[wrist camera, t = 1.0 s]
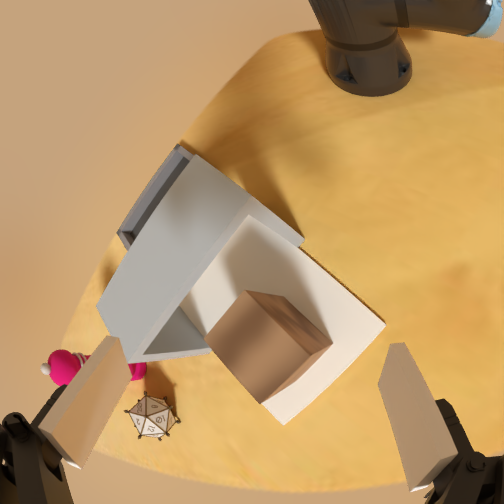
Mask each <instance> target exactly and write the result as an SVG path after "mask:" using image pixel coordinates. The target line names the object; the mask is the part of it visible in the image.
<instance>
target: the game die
mask: <svg viewBox="0 0 504 504" xmlns="http://www.w3.org/2000/svg"><path fill="white" fill-rule="evenodd" d="M144 395H145V396H144V397H143V398H142V399H141V400H138V403H137V404H136V405H135V406H134V407H133V408H132V409H131V410H129V411H128V410H124V412H125V413H129V415H130V417H131V419H132V421H133V422H134V424H135V426H134V427H136V428H137V430H138V432H139V434H140V435H139V436H138V439H140V438H141V436H149V437H158V439H159V440H160V441H161V440H162V439H161V438H160V437H162V436H163V435H165V434H166V435H167V436H169V437H170V434H169V433H167V432H168V431H169V430H170V429H171V428H172V426H173V425H174V424H175V423H181V422H180V421H178V420H177V421H176V420H175V418H174V416H173V414H172V411H171V409H172V408H173V406H168V405H167V403H166V402H165V400H166V399H167V398H166V397H164V398H163V399H159V398H155V397H151V396H147V392H146V391H144Z"/></svg>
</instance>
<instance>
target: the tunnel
mask: <svg viewBox="0 0 504 504" xmlns="http://www.w3.org/2000/svg"><path fill="white" fill-rule="evenodd" d="M304 240H305V239H304V238H303V237H302V236H301V235H299V234H298V233H297V232H296V231H295V230H294V229H292V228H291V227H290V226H289V225H287V224H286V223H285V222H284V221H283V220H281V219H280V218H279V217H278V216H277V215H275V214H274V213H273V212H272V211H270V210H269V209H268V208H267V207H265V206H264V205H263V204H262V203H261V202H259V201H258V200H257V199H256V198H254V197H253V196H252V195H251V194H249V193H248V192H247V191H245V190H244V189H243V188H241V187H240V186H239V185H237V184H236V183H235V182H233V181H232V180H231V179H229V178H228V177H227V176H225V175H224V174H223V173H221V172H220V171H219V170H217V169H216V168H215V167H213V166H212V165H211V164H209V163H208V162H206V161H205V160H204V159H202V158H201V157H200V156H198V155H197V154H195V155H194V157H193V158H192V159H191V161H190V162H189V163H188V165H187V166H186V167H185V169H184V170H183V171H182V173H181V174H180V175H179V177H178V178H177V179H176V181H175V182H174V183H173V185H172V186H171V188H170V189H169V190H168V192H167V193H166V195H165V196H164V197H163V199H162V200H161V202H160V203H159V205H158V206H157V207H156V209H155V210H154V212H153V213H152V215H151V216H150V218H149V219H148V221H147V222H146V224H145V225H144V227H143V228H142V230H141V231H140V233H139V234H138V236H137V237H136V239H135V241H134V242H133V244H132V245H131V247H130V249H129V250H128V252H127V253H126V255H125V257H124V258H123V260H122V262H121V263H120V265H119V267H118V268H117V270H116V272H115V273H114V275H113V277H112V278H111V280H110V282H109V284H108V285H107V287H106V289H105V291H104V292H103V294H102V296H101V298H100V300H99V302H98V303H97V305H96V307H97V309H98V311H99V313H100V315H101V317H102V319H103V321H104V323H105V325H106V327H107V329H108V331H109V333H110V335H111V336H113V337H119V339H120V342H121V345H122V349H123V352H124V355H125V357H126V360H127V363H128V364H130V363H141V362H150V361H159V360H167V359H175V358H183V357H190V356H197V355H203V354H209V353H210V352H211V351H212V349H211V348H210V347H209V345H208V344H207V343H206V342H205V341H204V337H205V336H206V335H207V334H208V333H209V331H210V330H211V329H212V328H213V327H214V325H215V324H216V323H217V322H218V321H219V319H220V318H221V317H222V316H223V315H224V313H225V312H226V311H227V310H228V309H229V307H230V306H231V305H232V304H233V303H234V301H235V300H236V299H237V298H238V297H239V295H240V294H241V293H242V292H243V290H249V291H255V292H261V293H266V294H272V295H278V296H284V297H285V298H286V299H287V300H288V301H289V302H290V303H291V304H292V305H293V306H294V307H295V308H297V309H298V310H299V311H300V312H301V313H302V314H303V315H304V316H305V317H306V318H307V319H308V320H309V321H310V322H311V323H312V324H313V325H314V326H315V327H317V328H318V329H319V330H320V331H321V332H322V333H323V334H324V335H325V336H326V337H327V338H328V339H329V340H330V341H331V342H332V343H333V344H332V345H331V346H330V348H329V349H328V350H327V351H326V352H325V353H324V354H323V355H322V356H321V357H320V358H319V359H318V360H317V361H316V362H315V363H314V364H313V365H312V366H311V367H310V368H309V369H308V370H307V371H306V372H305V373H304V374H303V375H302V376H301V377H300V378H299V379H298V380H297V381H296V382H294V383H293V384H291V385H290V386H288V387H287V388H285V389H283V390H282V391H280V392H279V393H277V394H276V395H274V396H272V397H271V398H269V399H268V400H266V401H264V402H263V403H262V404H263V405H264V406H265V407H266V408H267V410H268V411H269V412H270V413H271V414H272V415H273V416H274V417H275V418H276V419H277V420H278V421H279V422H280V423H281V424H282V425H283V426H284V425H285V424H286V423H287V422H289V421H290V420H291V419H292V418H293V417H295V416H296V415H297V414H298V413H299V412H300V411H302V410H303V409H304V408H305V407H306V406H307V405H308V404H310V403H311V402H312V401H313V400H314V399H315V398H316V397H317V396H318V395H320V394H321V393H322V392H323V391H324V390H325V389H326V388H327V387H328V386H329V385H330V384H331V383H332V382H333V381H334V380H335V379H336V378H338V377H339V376H340V375H341V374H342V373H343V372H344V371H345V370H346V369H347V368H348V367H349V366H350V364H351V363H352V362H353V361H354V360H355V359H356V358H357V357H358V356H359V355H360V354H361V353H362V352H363V351H364V350H365V349H366V348H367V347H368V345H369V344H370V343H371V342H372V341H373V340H374V339H375V338H376V337H377V335H378V334H379V333H380V332H381V331H382V330H383V329H384V327H385V326H386V324H385V323H384V322H383V321H381V320H380V319H379V318H378V317H377V316H376V315H375V314H374V313H373V312H371V311H370V310H369V309H368V308H367V307H366V306H365V305H364V304H362V303H361V302H360V301H359V300H358V299H357V298H356V297H355V296H353V295H352V294H351V293H350V292H349V291H348V290H347V289H345V288H344V287H343V286H342V285H341V284H340V283H339V282H337V281H336V280H335V279H334V278H333V277H332V276H330V275H329V274H328V273H327V272H326V271H325V270H323V269H322V268H321V267H320V266H319V265H318V264H316V263H315V262H314V261H313V260H312V259H311V258H309V257H308V256H307V255H306V254H305V253H304V252H302V251H301V250H300V249H299V246H300V245H301V244H302V243H303V241H304Z"/></svg>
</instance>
